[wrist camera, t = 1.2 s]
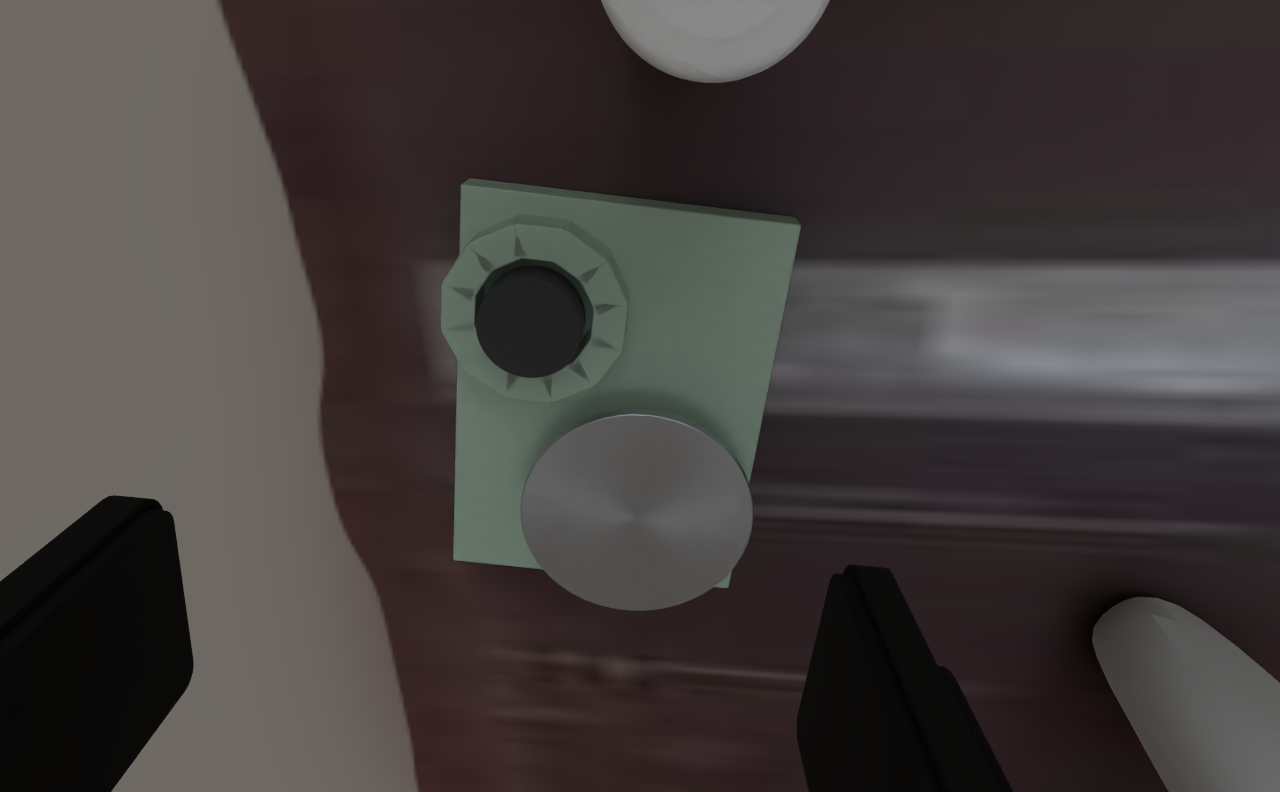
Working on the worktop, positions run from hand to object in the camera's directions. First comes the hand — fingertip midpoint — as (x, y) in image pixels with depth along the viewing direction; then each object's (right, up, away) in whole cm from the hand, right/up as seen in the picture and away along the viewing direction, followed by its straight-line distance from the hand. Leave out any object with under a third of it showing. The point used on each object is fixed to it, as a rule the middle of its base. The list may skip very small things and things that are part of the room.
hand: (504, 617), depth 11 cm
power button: (-2, +6, +17) cm, 18 cm away
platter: (+2, -1, +20) cm, 20 cm away
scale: (+1, +3, +21) cm, 21 cm away
